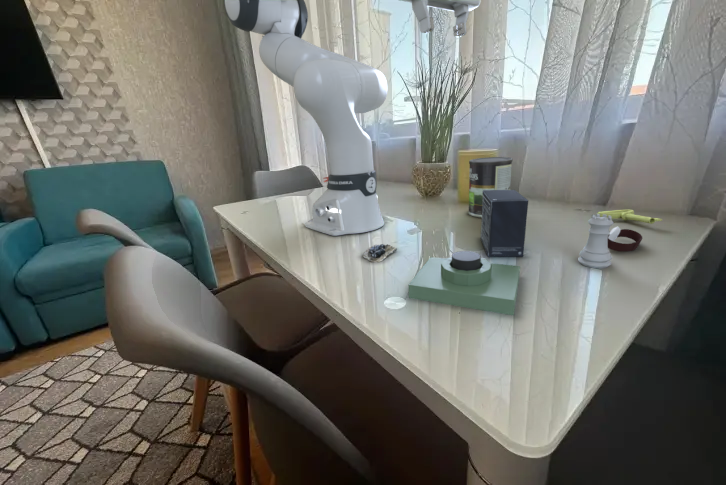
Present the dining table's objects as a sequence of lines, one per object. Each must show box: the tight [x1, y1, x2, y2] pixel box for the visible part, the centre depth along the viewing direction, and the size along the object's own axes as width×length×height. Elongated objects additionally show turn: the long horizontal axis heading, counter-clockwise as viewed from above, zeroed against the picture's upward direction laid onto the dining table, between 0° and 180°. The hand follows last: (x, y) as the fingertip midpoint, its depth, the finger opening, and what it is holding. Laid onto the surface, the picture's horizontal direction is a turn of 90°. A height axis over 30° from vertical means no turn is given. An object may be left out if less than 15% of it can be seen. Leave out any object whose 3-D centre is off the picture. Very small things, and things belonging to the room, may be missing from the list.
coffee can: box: [467, 156, 513, 219], centre depth 84 cm, size 10×10×14 cm
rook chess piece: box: [577, 213, 615, 269], centre depth 51 cm, size 4×4×8 cm
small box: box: [480, 189, 529, 258], centre depth 61 cm, size 11×6×10 cm, turn 168°
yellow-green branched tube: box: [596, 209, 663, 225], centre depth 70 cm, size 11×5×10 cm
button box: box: [408, 256, 521, 316], centre depth 48 cm, size 14×11×4 cm
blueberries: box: [362, 243, 398, 263], centre depth 64 cm, size 7×8×2 cm
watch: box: [608, 226, 643, 252], centre depth 57 cm, size 8×5×4 cm, turn 118°
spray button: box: [451, 250, 482, 271], centre depth 47 cm, size 4×4×2 cm
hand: (444, 34), depth 56 cm, fingers open, 8 cm apart
